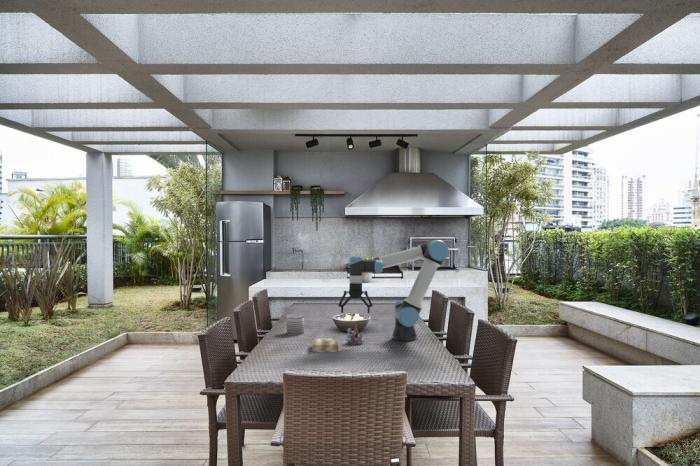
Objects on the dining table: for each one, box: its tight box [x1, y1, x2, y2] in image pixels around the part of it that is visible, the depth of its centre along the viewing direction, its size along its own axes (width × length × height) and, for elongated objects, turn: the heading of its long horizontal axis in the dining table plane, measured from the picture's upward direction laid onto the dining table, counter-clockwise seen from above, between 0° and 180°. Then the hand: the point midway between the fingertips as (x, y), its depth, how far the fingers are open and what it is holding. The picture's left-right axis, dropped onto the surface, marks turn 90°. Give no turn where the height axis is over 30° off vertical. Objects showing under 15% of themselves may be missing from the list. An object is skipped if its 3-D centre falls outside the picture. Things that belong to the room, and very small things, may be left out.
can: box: [286, 313, 305, 336], centre depth 310 cm, size 11×11×12 cm
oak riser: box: [311, 338, 339, 353], centre depth 268 cm, size 14×15×4 cm
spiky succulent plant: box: [345, 324, 364, 346], centre depth 282 cm, size 11×11×12 cm
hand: (355, 318), depth 282 cm, fingers open, 13 cm apart
